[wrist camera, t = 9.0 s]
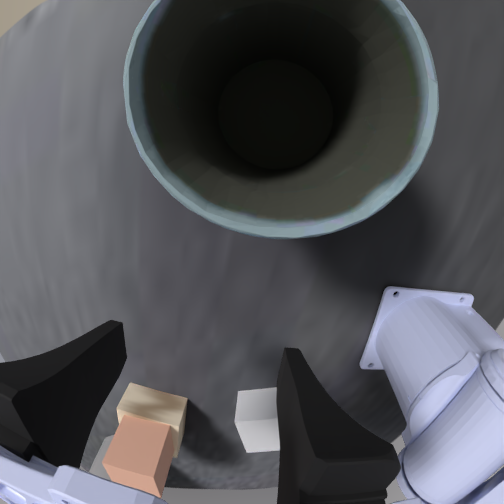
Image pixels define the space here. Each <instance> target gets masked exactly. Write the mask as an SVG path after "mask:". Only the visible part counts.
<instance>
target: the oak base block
mask: <svg viewBox="0 0 504 504" xmlns="http://www.w3.org/2000/svg"><path fill="white" fill-rule="evenodd" d="M186 408H187V398H185V397H181V396H177V395H173V394H169V393H165V392H161V391H158V390H154V389H150V388H147V387H144V386H140V385H137V384H134V383H129V385H128V387H127V389H126V391H125V393H124V395H123V397H122V399H121V401H120V403H119V405H118V407H117V414H118V420H119V424H120V422H121V420H122V418H123V416H124V415H128V416H132V417H136V418H140V419H144V420H149V421H153V422H158V423H162V424H167V425H170V428H171V434H172V440H173V446H174V454H173V457H175V458H177V456H178V453H179V449H180V445H181V442H182V438H183V434H184V429H185V418H186Z"/></svg>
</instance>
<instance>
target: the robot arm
mask: <svg viewBox="0 0 504 504" xmlns="http://www.w3.org/2000/svg"><path fill="white" fill-rule="evenodd" d="M396 291H398V292H397V294H396V295H393V294H394V292H396ZM461 298H462V299H461ZM460 299H461V300H460ZM473 300H474V297H473V296H472V295H471V294H467V293H456V292H445V291H435V290H424V289H414V288H404V287H394V286H389V287H387V288H386V289H385V290H384V292H383V296H382V299H381V302H380V305H379V309H378V312H377V315H376V318H375V321H374V324H373V327H372V330H371V333H370V336H369V339H368V342H367V344H366V347H365V350H364V353H363V355H362V358H361V361H360V367H361V368H362V369H384V370H385V372H386V374H387V377H388V379H389V381H390V384H391V386H392V388H393V391H394V393H395V396H396V398H397V400H398V403H399V405H400V408H401V410H402V412H403V415H404V417H405V420H406V422H407V426H406V428H405V430H404V431H403V432H402V437H403V440H404V443H405V446H406V447H405V448H403V450H402V451H401V452H400V453H399V455H398V456H397V453H396V451H395V449H394V447H393V445H392V444H390V443H388V442H386V441H384V440H383V439H381V438H379V437H377V436H375V435H374V434H372V433H371V432H369V431H368V430H366V429H365V428H363V427H362V426H361V425H359V424H358V423H357V422H356V421H354V420H353V419H352V418H351V417H350V416H349V415H347V414H346V413H345V412H344V411H343V410H342V409H341V408H340V407H339V406H338V405H337V404H336V403H335V402H334V401H333V399H332V398H331V397H330V396H329V395H328V393H327V392H326V391H325V389H324V388H323V387H322V385H321V384H320V383H319V381H318V380H317V378H316V377H315V375H314V374H313V372H312V370H311V369H310V367H309V365H308V364H307V362H306V360H305V358H304V357H303V355H302V353H301V351H300V350H299V349H296V348H284V353H283V357H282V362H281V366H280V371H279V375H278V380H277V393H276V405H277V417H278V428H279V440H280V465H279V484H278V498H277V504H385V500H384V499H385V498H387V491H386V488H387V487H388V485H389V484H390V483H391V482H392V481H393V480H394V479H395V478H396V479H397V482H398V485H399V487H400V489H401V491H402V492H403V494H404V496H405V497H406V498H407V500H403V501H397V502H393V503H391V504H504V467H503V468H502V469H501V470H500V471H498V472H497V473H496V474H495V475H494V476H493V477H492V478H490V479H489V480H487V481H485V480H486V479H488V478H489V477H490V476H491V475H492V474H493V473H495V472H496V471H497V470H498V469H499V468H500V467H501V466H502V465H503V464H504V340H503V339H502V337H501V336H500V335H499V334H498V333H497V332H496V331H495V330H494V329H493V328H492V327H491V326H490V325H489V324H488V323H487V322H486V321H485V320H484V319H483V318H482V317H481V316H480V315H479V314H478V313H477V312H476V311H475V310H474V309H473V308H472V307H471V306H472V303H473ZM126 359H127V354H126V347H125V339H124V331H123V323H122V322H118V321H113V320H110V321H108V322H106V323H104V324H102V325H100V326H98V327H97V328H95V329H93V330H91V331H90V332H88V333H86V334H84V335H82V336H81V337H79V338H77V339H75V340H73V341H71V342H69V343H67V344H65V345H63V346H61V347H58V348H56V349H54V350H51V351H49V352H46V353H43V354H40V355H37V356H33V357H30V358H26V359H22V360H17V361H11V362H5V363H0V498H1V499H3V500H4V501H5V502H7V503H8V504H168V503H167V502H166V501H165V500H163V499H161V498H159V497H157V496H155V495H153V494H151V493H148V492H145V491H142V490H139V489H136V488H133V487H129V486H126V485H123V484H120V483H116V482H113V481H110V480H108V479H105V478H102V477H99V476H96V475H94V474H91V473H88V472H86V471H83V470H81V469H79V467H80V463H81V460H82V456H83V453H84V449H85V446H86V443H87V440H88V437H89V435H90V432H91V429H92V427H93V424H94V422H95V419H96V417H97V415H98V413H99V411H100V409H101V407H102V405H103V403H104V402H105V400H106V398H107V397H108V395H109V393H110V391H111V390H112V388H113V386H114V385H115V383H116V381H117V379H118V378H119V376H120V374H121V371H122V369H123V367H124V364H125V361H126ZM370 363H372V364H371V365H369V364H370ZM484 481H485V482H484Z"/></svg>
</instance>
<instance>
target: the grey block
mask: <svg viewBox="0 0 504 504" xmlns="http://www.w3.org/2000/svg"><path fill="white" fill-rule="evenodd" d="M276 393H277V387H274V388H266V389H257V390H247V391H238V398H237V406H236V415H235V424H236V427H237V429H238V432H239V434H240V437H241V440H242V442H243V444H244V447H245V449H246V452H247V453H250V452H265V451H276V450H280V440H279V428H278V417H277V405H276Z"/></svg>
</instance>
